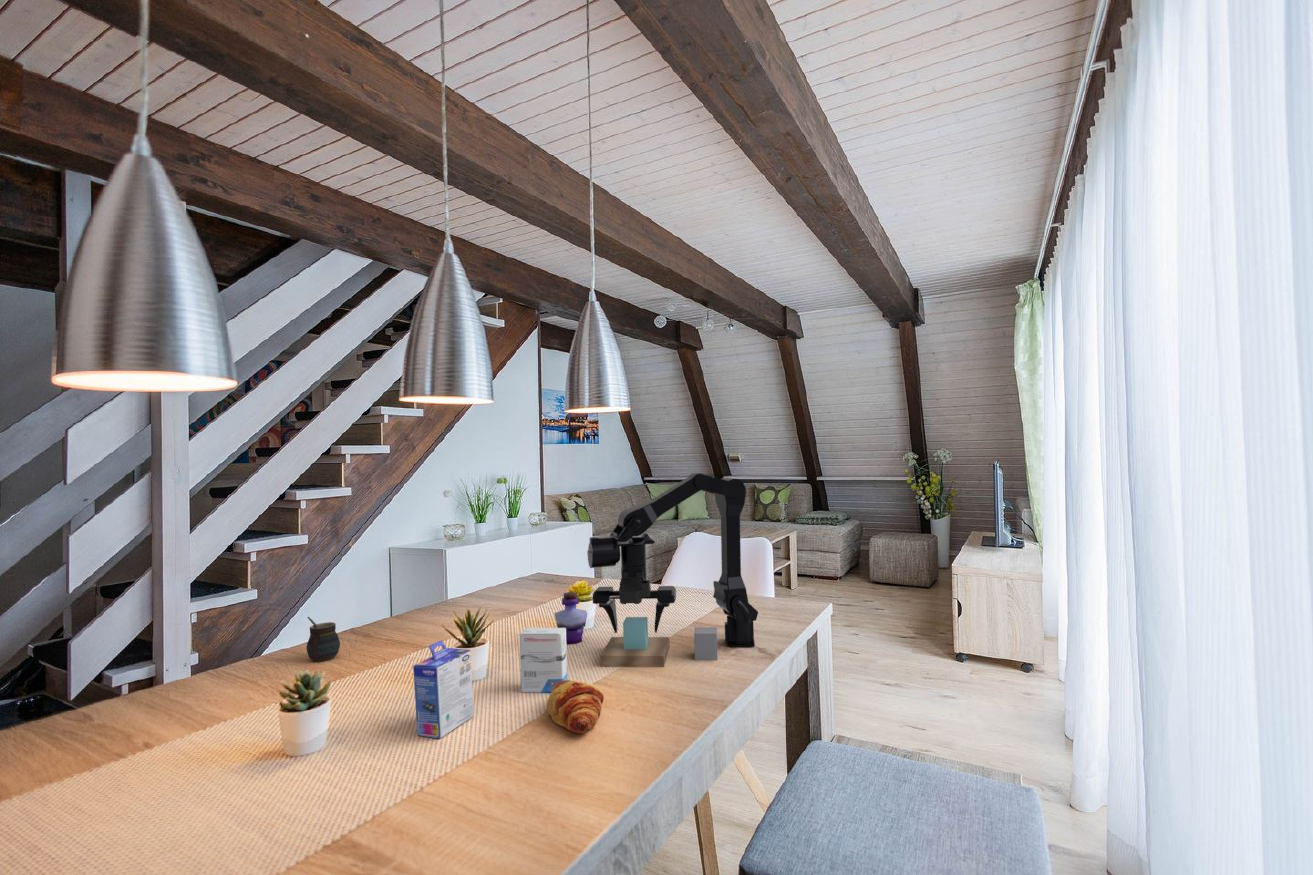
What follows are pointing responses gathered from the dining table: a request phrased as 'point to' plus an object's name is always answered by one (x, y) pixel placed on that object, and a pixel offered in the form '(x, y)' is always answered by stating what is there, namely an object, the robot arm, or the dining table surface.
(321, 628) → the mate gourd
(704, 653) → the gray block
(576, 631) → the potion bottle
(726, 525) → the robot arm
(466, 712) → the ink cartridge box
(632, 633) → the teal block
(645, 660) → the walnut slab
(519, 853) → the dining table surface
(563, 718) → the croissant
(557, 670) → the ink box
